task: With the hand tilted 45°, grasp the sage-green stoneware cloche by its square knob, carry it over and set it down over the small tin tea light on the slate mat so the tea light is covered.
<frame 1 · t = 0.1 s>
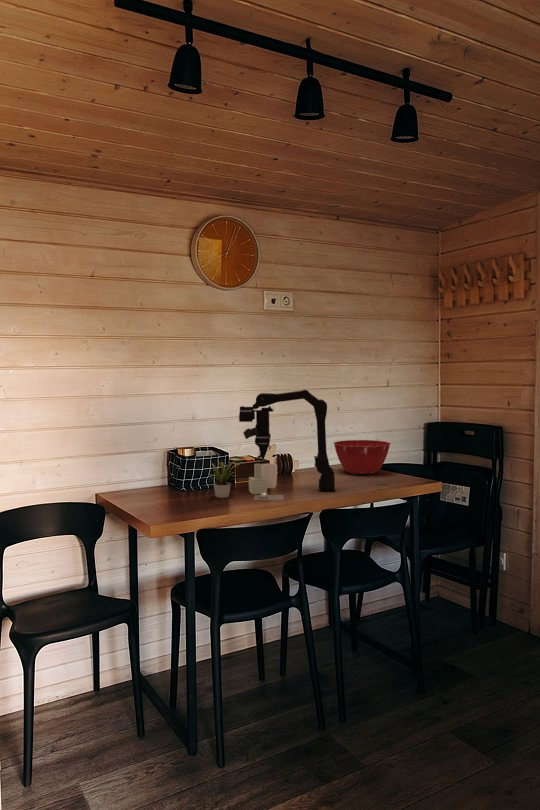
hand: (263, 457, 278), 15 cm above the table, tool pointing down, fingers open, 9 cm apart
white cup: (268, 487, 286), on the table
mixing bowl: (361, 473, 322), on the table
tea light: (263, 497, 259), resting on slate mat
house plant: (225, 498, 263), on the table
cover: (257, 494, 270), on the table
slate mat: (268, 499, 260), on the table
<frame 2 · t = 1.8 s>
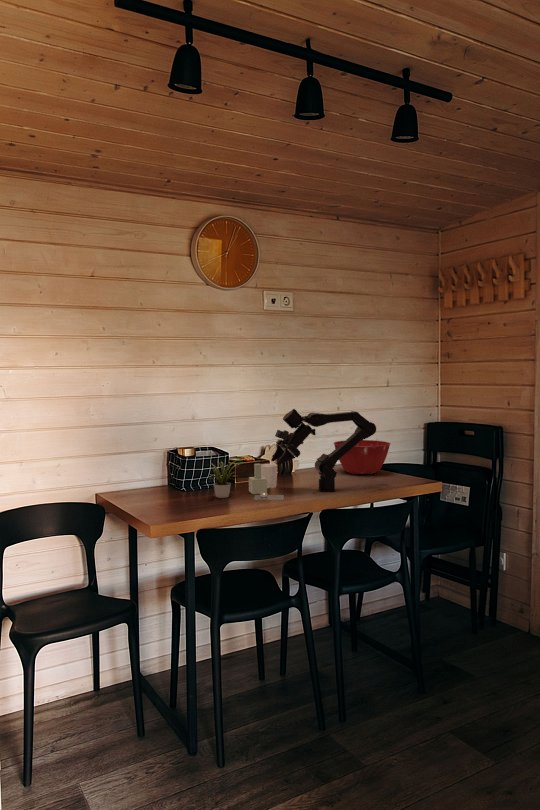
hand: (274, 462, 271), 13 cm above the table, tool tilted 45°, fingers open, 9 cm apart
nothing on the table moved.
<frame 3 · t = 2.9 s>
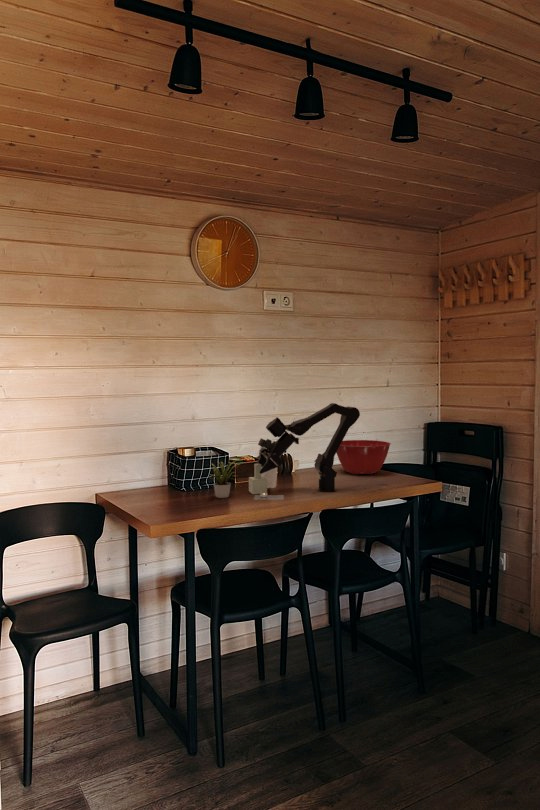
hand: (257, 471, 270), 10 cm above the table, tool tilted 45°, fingers open, 9 cm apart
nothing on the table moved.
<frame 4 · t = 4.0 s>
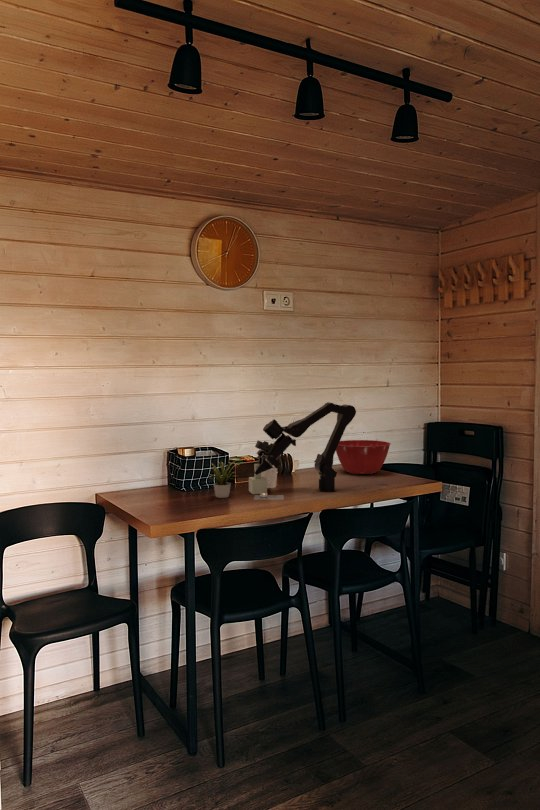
hand: (254, 473, 269), 9 cm above the table, tool tilted 45°, fingers closed on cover, 2 cm apart
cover: (257, 494, 270), on the table, touching gripper
everything else where it was.
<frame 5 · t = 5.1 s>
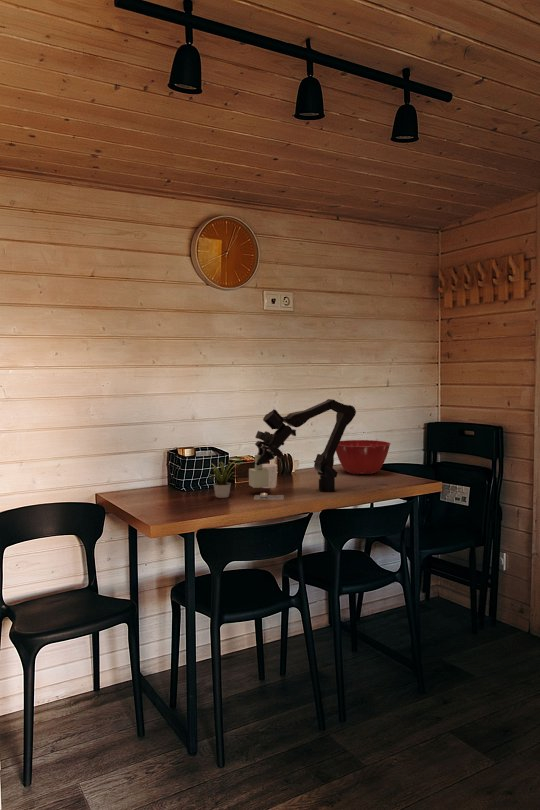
hand: (255, 464, 265), 13 cm above the table, tool tilted 45°, fingers closed on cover, 2 cm apart
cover: (258, 485, 267), point 4 cm above the table, touching gripper
everything else where it was.
when the fingers open (11 cm above the table, at t = 6.4 s): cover stays where it is, resting on slate mat.
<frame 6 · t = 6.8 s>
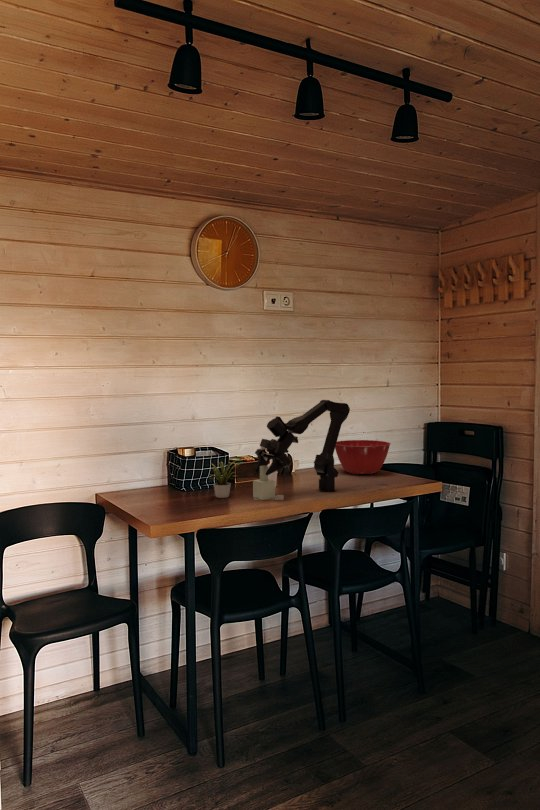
hand: (260, 473, 258), 11 cm above the table, tool tilted 45°, fingers open, 7 cm apart
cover: (264, 497, 259), point 1 cm above the table, touching slate mat
everything else where it was.
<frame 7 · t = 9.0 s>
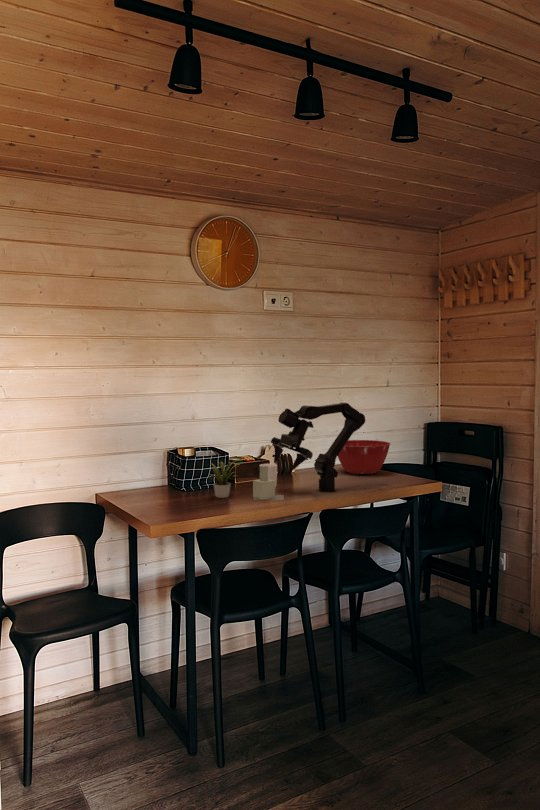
hand: (283, 466, 267), 12 cm above the table, tool tilted 30°, fingers open, 9 cm apart
nothing on the table moved.
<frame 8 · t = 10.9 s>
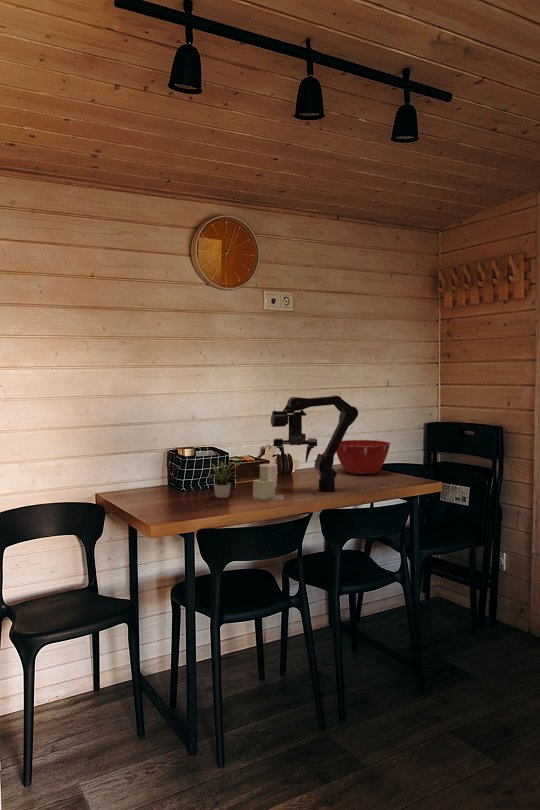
hand: (295, 462, 274), 13 cm above the table, tool pointing down, fingers open, 9 cm apart
nothing on the table moved.
at the end: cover 0.1 cm from the tea light (horizontally); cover point 1.0 cm above the table; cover tilted 0° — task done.
